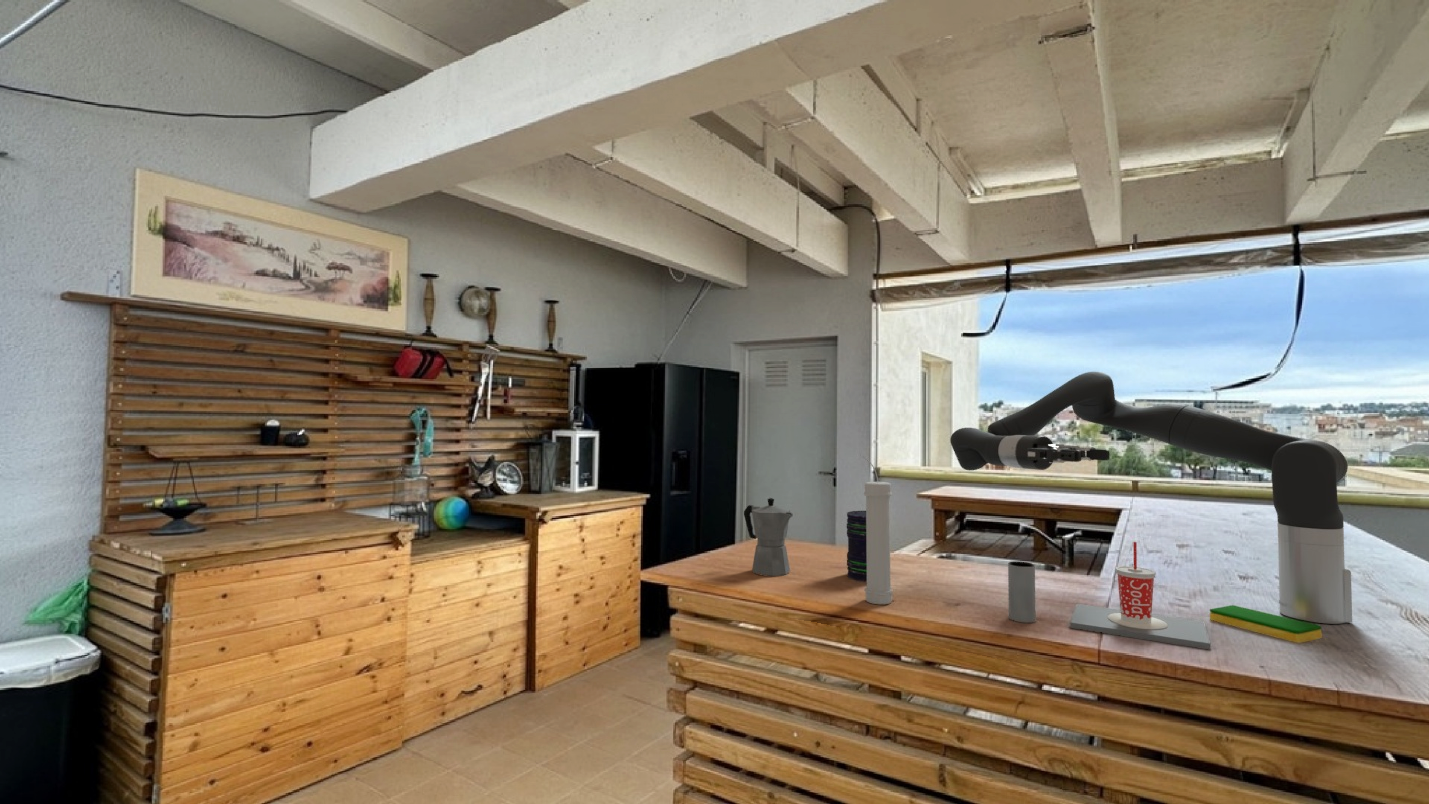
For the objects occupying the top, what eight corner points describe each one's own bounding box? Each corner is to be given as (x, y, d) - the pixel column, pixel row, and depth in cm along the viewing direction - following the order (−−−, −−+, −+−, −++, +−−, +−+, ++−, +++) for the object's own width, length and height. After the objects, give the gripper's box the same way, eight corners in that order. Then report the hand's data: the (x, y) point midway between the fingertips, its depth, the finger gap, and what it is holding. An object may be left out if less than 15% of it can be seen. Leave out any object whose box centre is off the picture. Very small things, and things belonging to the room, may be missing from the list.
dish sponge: (1232, 617, 124) (1232, 604, 124) (1322, 640, 111) (1322, 625, 111) (1208, 621, 121) (1208, 608, 121) (1298, 645, 108) (1298, 630, 108)
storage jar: (895, 575, 155) (894, 512, 156) (882, 584, 147) (881, 517, 147) (855, 570, 161) (854, 509, 161) (840, 578, 152) (840, 514, 153)
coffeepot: (804, 573, 157) (804, 498, 158) (779, 580, 151) (779, 502, 151) (757, 563, 168) (756, 493, 169) (731, 569, 162) (731, 496, 162)
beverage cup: (1112, 620, 116) (1111, 542, 117) (1119, 613, 121) (1118, 537, 121) (1153, 628, 112) (1152, 546, 113) (1159, 620, 117) (1158, 541, 117)
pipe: (893, 606, 130) (892, 455, 131) (861, 604, 131) (860, 455, 132) (891, 598, 135) (890, 454, 136) (860, 596, 136) (860, 454, 137)
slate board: (1203, 626, 117) (1203, 619, 117) (1210, 649, 105) (1210, 642, 105) (1076, 608, 128) (1076, 602, 128) (1070, 627, 116) (1070, 621, 116)
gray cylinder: (1024, 624, 118) (1024, 567, 118) (1003, 617, 122) (1002, 562, 122) (1041, 620, 120) (1040, 565, 120) (1019, 614, 124) (1018, 560, 125)
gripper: (1002, 435, 143) (1070, 437, 128) (1047, 434, 149) (1117, 436, 134) (1003, 469, 142) (1071, 475, 128) (1048, 467, 148) (1117, 473, 134)
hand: (1094, 455), depth 131 cm, fingers open, 8 cm apart
